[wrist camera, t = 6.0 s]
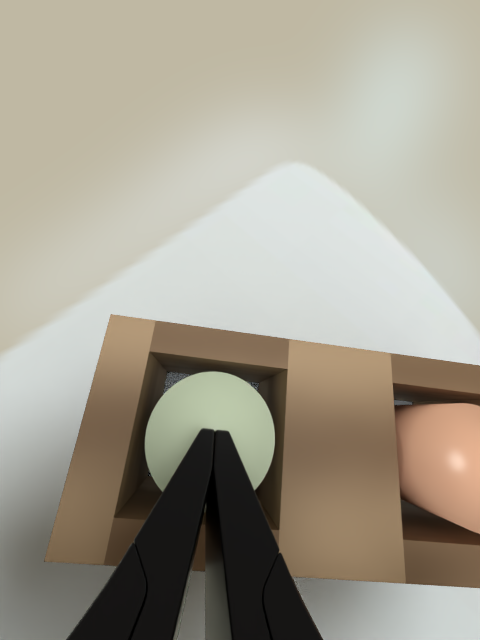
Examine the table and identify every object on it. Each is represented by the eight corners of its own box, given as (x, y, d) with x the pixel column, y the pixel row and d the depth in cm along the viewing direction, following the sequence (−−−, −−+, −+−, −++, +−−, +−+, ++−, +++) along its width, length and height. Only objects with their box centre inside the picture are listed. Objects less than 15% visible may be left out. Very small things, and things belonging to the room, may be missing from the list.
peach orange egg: (433, 497, 15) (544, 539, 10) (353, 490, 14) (429, 530, 10) (425, 409, 16) (518, 409, 11) (351, 401, 16) (417, 397, 11)
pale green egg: (246, 480, 14) (270, 517, 9) (155, 472, 13) (130, 506, 9) (254, 388, 15) (278, 379, 10) (172, 379, 15) (159, 364, 10)
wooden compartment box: (452, 528, 16) (592, 595, 10) (107, 500, 14) (43, 561, 8) (436, 385, 18) (540, 373, 13) (141, 346, 17) (110, 314, 11)
